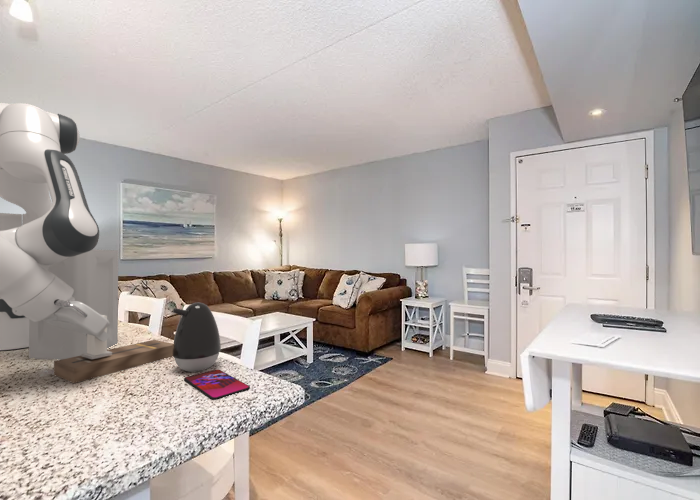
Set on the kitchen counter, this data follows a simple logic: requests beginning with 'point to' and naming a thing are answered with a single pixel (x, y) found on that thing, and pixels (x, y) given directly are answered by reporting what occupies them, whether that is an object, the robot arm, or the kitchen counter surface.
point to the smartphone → (216, 384)
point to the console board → (112, 361)
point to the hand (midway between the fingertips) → (100, 337)
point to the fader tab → (96, 347)
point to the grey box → (90, 289)
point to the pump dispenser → (196, 338)
